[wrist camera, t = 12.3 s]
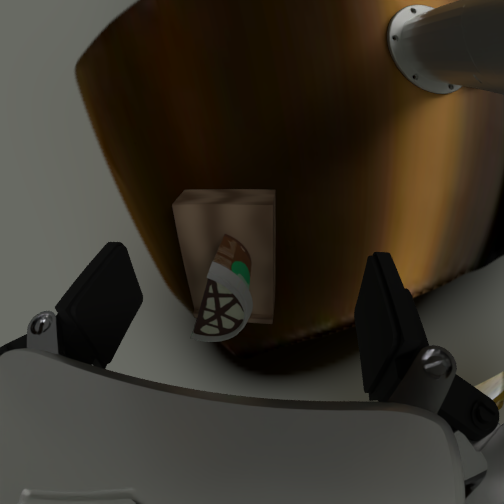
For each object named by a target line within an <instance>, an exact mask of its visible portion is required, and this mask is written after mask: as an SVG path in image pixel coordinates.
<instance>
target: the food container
mask: <svg viewBox="0 0 504 504" xmlns="http://www.w3.org/2000/svg"><path fill="white" fill-rule="evenodd" d="M251 265H252V262H251V257H250V254H249V252H248V251H247V249H246V248H245V246H244V245H243V244H242V243H241V242H239V241H238V240H237V239H235V238H233V237H232V236H230V235H227V234H224V237H223V239H222V241H221V244H220V246H219V248H218V251H217V253H216V255H215V258H214V260H213V261H212V264H211V266H210V269H209V272H208V275H207V277H206V278H208V280H207V285H206V288H205V291H204V295H203V299H202V302H201V306H200V309H199V313H198V317H197V320H196V323H195V326H194V329H193V332H192V335H191V338H192V339H195V340H199V341H206V342H217V341H223V340H227V339H230V338H232V337H234V336H235V335H237V334H238V333H239V332H240V331H241V330H242V329H243V328H244V326H245V325H246V323H247V321H248V319H249V317H250V315H251V313H252V309H253V301H252V297H251V294H250V291H249V285H250V276H251Z"/></svg>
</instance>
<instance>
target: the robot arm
mask: <svg viewBox="0 0 504 504" xmlns="http://www.w3.org/2000/svg"><path fill="white" fill-rule="evenodd" d="M410 10H411V11H412V12H411V11H410ZM392 37H394V38H395V40H393V39H392ZM387 41H388V47H389V51H390V53H391V56H392V58H393V60H394V62H395V64H396V66H397V67H398V69H399V70H400V71H401V73H402V74H403V75H404V76H405V77H406V78H407V79H408V80H409V81H410V82H412V83H413V84H414V85H416V86H418V87H419V88H421V89H423V90H426V91H429V92H432V93H437V94H447V93H452V92H454V91H456V90H458V89H459V88H461V87H462V86H465V87H471V88H476V89H481V90H486V91H490V92H494V93H498V94H502V95H504V0H459V1H455V2H452V3H449V4H446V5H443V6H440V7H438V8H432V7H429V6H425V5H411V6H407V7H405V8H403V9H401V10H400V11H398V12H397V13H396V14H395V15H394V16H393V17H392V19H391V21H390V23H389V26H388V31H387ZM413 75H414V79H413V77H412V76H413ZM448 85H449V87H448ZM142 302H143V295H142V292H141V289H140V286H139V283H138V281H137V278H136V275H135V272H134V269H133V266H132V263H131V260H130V257H129V254H128V251H127V248H126V247H125V246H124V245H123V244H122V243H121V242H108V243H107V244H106V245H105V246H104V247H103V248H102V250H101V251H100V252H99V253H98V254H97V255H96V256H95V258H94V259H93V260H92V261H91V262H90V263H89V265H88V266H87V267H86V268H85V269H84V271H83V272H82V273H81V274H80V275H79V277H78V278H77V279H76V280H75V282H74V283H73V284H72V285H71V287H70V288H69V290H68V291H67V292H66V293H65V294H64V296H63V297H62V298H61V300H60V301H59V302H58V304H57V305H56V306H55V309H56V310H57V312H58V314H57V315H56V316H55V314H54V313H53V312H51V311H44V312H41V313H39V314H37V315H36V316H35V317H33V319H32V320H31V321H30V323H29V325H28V329H27V334H26V335H24V336H22V337H20V338H18V339H16V340H14V341H12V342H9V343H7V344H5V345H4V346H2V347H0V504H504V424H502V425H500V424H499V423H498V422H499V411H498V407H497V405H496V404H495V402H494V401H493V400H492V399H491V398H489V397H488V396H486V395H485V394H483V393H482V392H481V391H479V390H478V389H476V388H475V387H473V386H472V385H471V384H469V383H468V382H466V381H465V380H463V379H462V378H461V377H459V376H458V375H456V370H457V368H456V362H455V359H454V357H453V356H452V354H451V353H450V352H449V351H447V350H446V349H445V348H443V347H440V346H435V345H432V346H429V344H428V341H427V338H426V335H425V331H424V328H423V326H422V323H421V320H420V317H419V314H418V311H417V309H416V306H415V303H414V301H413V298H412V295H411V293H410V291H409V290H408V289H404V286H403V284H402V281H401V279H400V276H399V274H398V271H397V269H396V266H395V264H394V262H393V259H392V257H391V255H390V253H387V252H374V253H373V256H369V257H368V259H367V264H366V268H365V272H364V276H363V280H362V284H361V288H360V292H359V296H358V300H357V303H356V307H355V312H354V318H355V324H356V331H357V337H358V344H359V352H360V359H361V367H362V376H363V386H364V391H365V393H369V400H370V401H371V400H372V401H373V400H378V402H356V401H349V402H345V401H343V402H341V401H340V402H338V401H337V402H336V401H300V400H298V401H297V400H280V399H266V398H265V399H264V398H255V397H245V396H236V395H228V394H221V393H213V392H206V391H200V390H194V389H188V388H183V387H178V386H172V385H167V384H162V383H158V382H153V381H149V380H145V379H140V378H136V377H132V376H128V375H124V374H120V373H117V372H113V371H109V370H106V369H105V368H106V366H107V364H108V363H110V362H111V361H112V359H113V357H114V355H115V353H116V351H117V349H118V347H119V345H120V343H121V341H122V339H123V337H124V335H125V333H126V332H127V330H128V328H129V326H130V324H131V322H132V320H133V318H134V317H135V315H136V313H137V311H138V309H139V308H140V306H141V304H142Z"/></svg>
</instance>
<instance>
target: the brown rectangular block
mask: <svg viewBox="0 0 504 504" xmlns="http://www.w3.org/2000/svg"><path fill="white" fill-rule="evenodd" d="M172 207H173V213H174V218H175V223H176V228H177V233H178V238H179V243H180V248H181V253H182V257H183V262H184V267H185V271H186V275H187V280H188V284H189V288H190V292H191V297H192V301H193V305H194V312H193V315H194V318H197V317H198V313H199V309H200V306H201V302H202V299H203V295H204V291H205V288H206V285H207V280H208V278H206V277H207V275H208V272H209V269H210V266H211V264H212V261H213V260H214V258H215V255H216V253H217V251H218V248H219V246H220V244H221V241H222V239H223V237H224V234H227V235H230V236H232V237H233V238H235V239H237V240H238V241H239V242H241V243H242V244H243V245H244V246H245V248H246V249H247V251H248V252H249V254H250V257H251V262H252V265H251V276H250V285H249V291H250V294H251V297H252V301H253V309H252V313H251V315H250V317H249V319H248V321H247V322H250V323H265V324H272V321H273V312H274V303H275V236H276V219H275V190H264V189H202V190H184V191H183V192H182V194H181V195H180V196H179V197H178V198H177V199H176V201H175V202H174V203H173V204H172Z"/></svg>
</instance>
